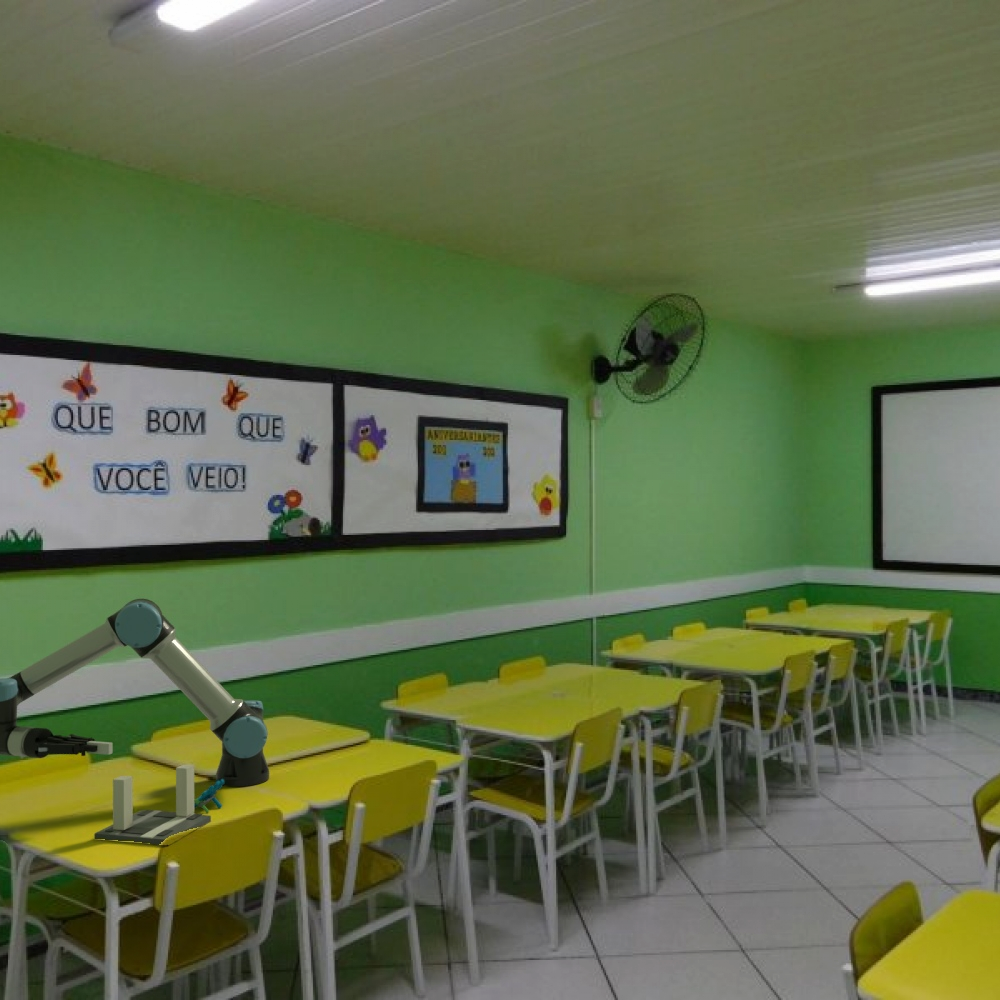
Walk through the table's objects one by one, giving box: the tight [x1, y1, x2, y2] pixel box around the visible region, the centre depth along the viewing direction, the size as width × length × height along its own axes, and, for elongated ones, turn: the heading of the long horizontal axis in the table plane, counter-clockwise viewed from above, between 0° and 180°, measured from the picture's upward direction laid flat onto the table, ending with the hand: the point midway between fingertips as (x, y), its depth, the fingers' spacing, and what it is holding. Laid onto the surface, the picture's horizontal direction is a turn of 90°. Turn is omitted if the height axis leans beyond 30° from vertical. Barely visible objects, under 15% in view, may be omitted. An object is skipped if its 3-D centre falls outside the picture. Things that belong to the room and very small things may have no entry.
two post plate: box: [93, 764, 212, 846], centre depth 247 cm, size 20×19×14 cm
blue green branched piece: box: [194, 779, 225, 814], centre depth 265 cm, size 11×6×10 cm
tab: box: [112, 775, 134, 830], centre depth 242 cm, size 3×4×12 cm
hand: (110, 748), depth 253 cm, fingers closed
